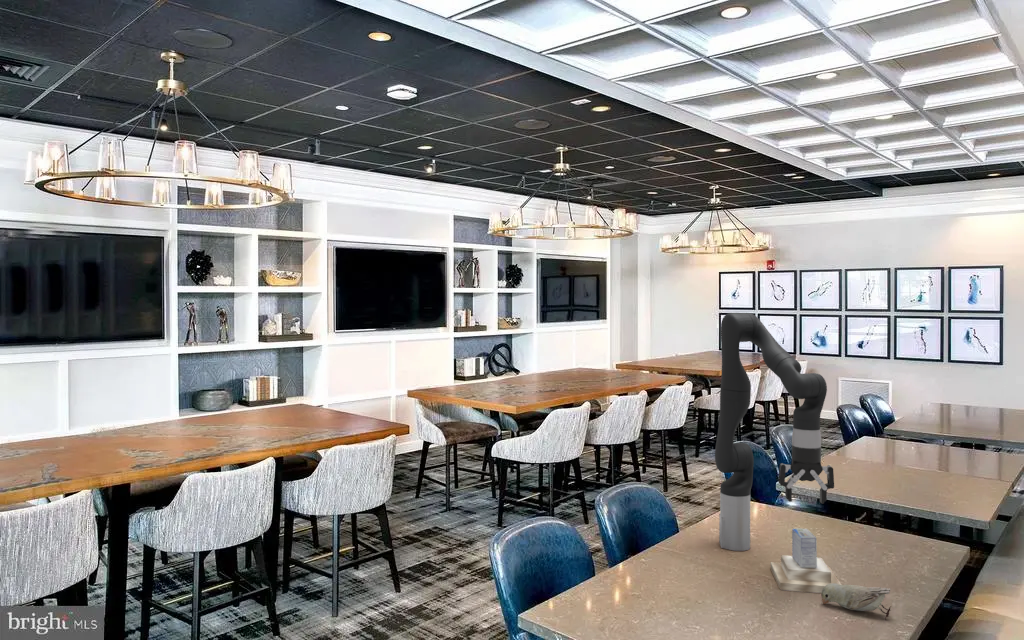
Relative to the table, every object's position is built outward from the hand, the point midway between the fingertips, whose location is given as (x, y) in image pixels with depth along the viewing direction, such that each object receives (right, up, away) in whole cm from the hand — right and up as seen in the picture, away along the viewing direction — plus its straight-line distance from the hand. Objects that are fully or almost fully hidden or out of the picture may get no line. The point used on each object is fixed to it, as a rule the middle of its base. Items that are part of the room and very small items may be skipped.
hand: (805, 501), depth 196 cm
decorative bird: (+4, -23, -19) cm, 30 cm away
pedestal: (0, -22, 0) cm, 22 cm away
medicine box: (-1, -17, 0) cm, 17 cm away
